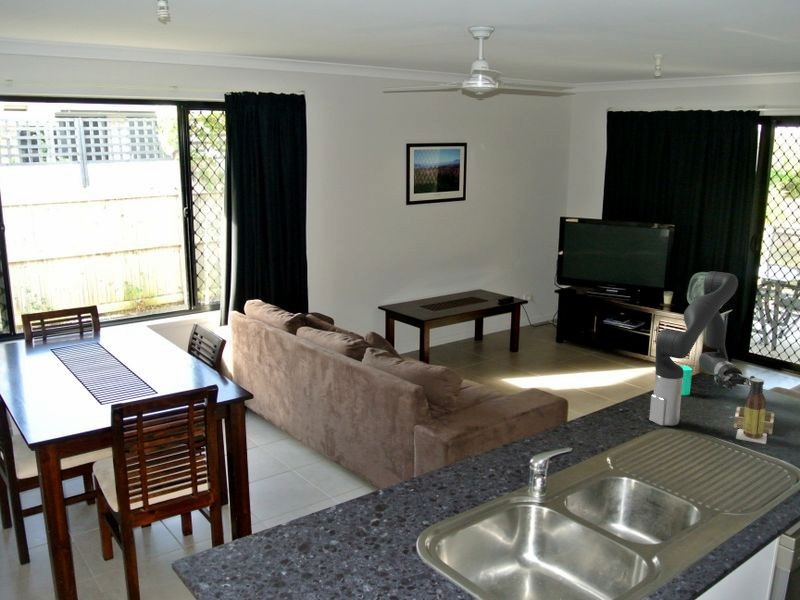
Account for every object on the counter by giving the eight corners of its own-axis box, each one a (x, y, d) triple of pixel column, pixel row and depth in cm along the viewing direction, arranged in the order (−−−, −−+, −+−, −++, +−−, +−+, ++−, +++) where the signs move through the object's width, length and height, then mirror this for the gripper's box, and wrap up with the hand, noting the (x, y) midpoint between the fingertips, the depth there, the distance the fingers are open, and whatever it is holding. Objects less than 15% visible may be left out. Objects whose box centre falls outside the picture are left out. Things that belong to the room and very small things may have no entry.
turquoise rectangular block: (676, 389, 289) (678, 361, 286) (691, 392, 285) (694, 363, 283) (672, 393, 284) (674, 364, 282) (687, 396, 281) (690, 367, 278)
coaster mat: (765, 444, 235) (765, 443, 235) (735, 438, 239) (736, 437, 239) (766, 435, 243) (767, 433, 243) (738, 429, 247) (738, 428, 247)
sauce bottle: (758, 432, 244) (765, 377, 240) (765, 439, 238) (772, 383, 234) (738, 431, 244) (745, 376, 240) (745, 438, 238) (752, 382, 234)
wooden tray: (771, 434, 243) (773, 423, 242) (733, 427, 249) (734, 416, 248) (773, 423, 253) (774, 412, 253) (736, 416, 259) (737, 406, 258)
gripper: (709, 362, 265) (723, 375, 249) (749, 364, 263) (766, 377, 247) (707, 382, 266) (721, 396, 250) (746, 384, 265) (763, 398, 249)
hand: (743, 387), depth 249 cm, fingers open, 8 cm apart
